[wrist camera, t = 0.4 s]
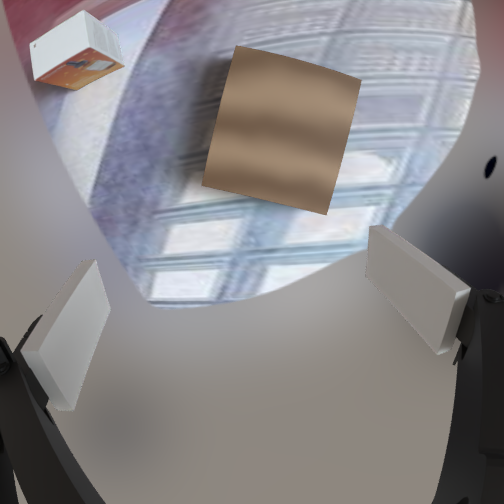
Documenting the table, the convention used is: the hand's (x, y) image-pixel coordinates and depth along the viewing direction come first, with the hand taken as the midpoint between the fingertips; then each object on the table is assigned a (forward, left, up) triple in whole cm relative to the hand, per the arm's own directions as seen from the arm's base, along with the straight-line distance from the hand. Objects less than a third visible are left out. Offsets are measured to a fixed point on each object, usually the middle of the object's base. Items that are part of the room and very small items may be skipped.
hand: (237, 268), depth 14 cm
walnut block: (-8, +2, -26) cm, 28 cm away
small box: (-14, -24, -26) cm, 38 cm away
